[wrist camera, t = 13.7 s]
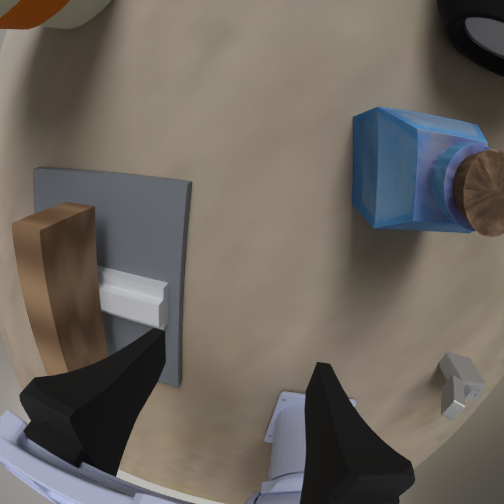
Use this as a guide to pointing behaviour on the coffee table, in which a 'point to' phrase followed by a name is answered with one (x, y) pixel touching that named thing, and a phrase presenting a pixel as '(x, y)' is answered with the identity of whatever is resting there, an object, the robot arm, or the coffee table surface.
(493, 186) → the perfume bottle
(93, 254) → the walnut bar
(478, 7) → the portable speaker
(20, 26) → the reusable coffee cup
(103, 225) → the ridge stand
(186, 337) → the coffee table surface
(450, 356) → the grey angular piece
